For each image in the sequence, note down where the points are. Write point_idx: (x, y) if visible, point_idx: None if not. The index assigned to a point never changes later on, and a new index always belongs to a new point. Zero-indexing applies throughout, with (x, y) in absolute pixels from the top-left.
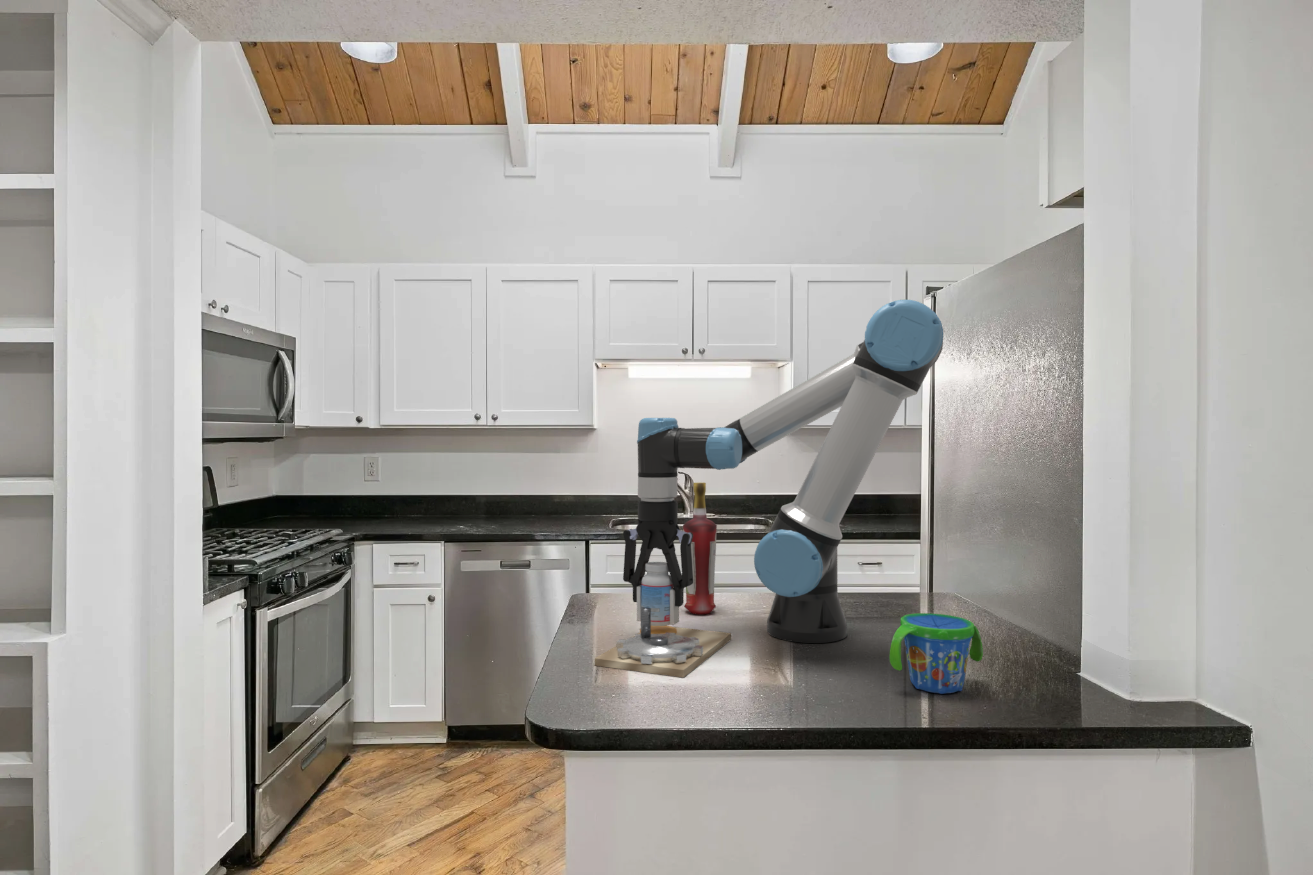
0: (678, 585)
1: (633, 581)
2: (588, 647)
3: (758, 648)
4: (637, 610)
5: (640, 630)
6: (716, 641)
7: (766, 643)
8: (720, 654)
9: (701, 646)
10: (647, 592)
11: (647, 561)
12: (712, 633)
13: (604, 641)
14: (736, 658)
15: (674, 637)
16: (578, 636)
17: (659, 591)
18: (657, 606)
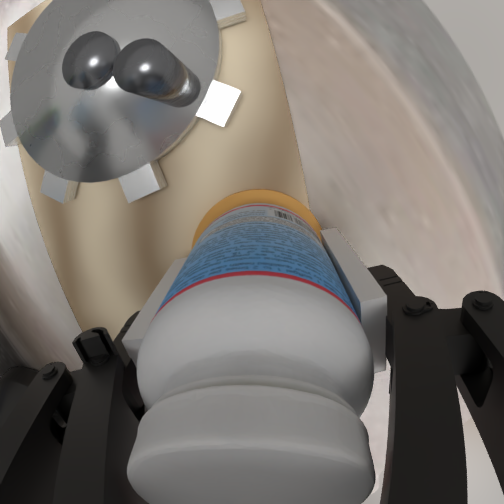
0: (86, 363)
1: (426, 311)
2: (380, 40)
3: (25, 306)
4: (343, 242)
5: (308, 213)
6: (60, 264)
7: (41, 344)
8: (35, 218)
9: (5, 138)
10: (261, 252)
11: (381, 501)
12: (117, 326)
13: (386, 118)
14: (4, 215)
15: (93, 148)
16: (472, 131)
17: (175, 284)
18: (204, 241)
